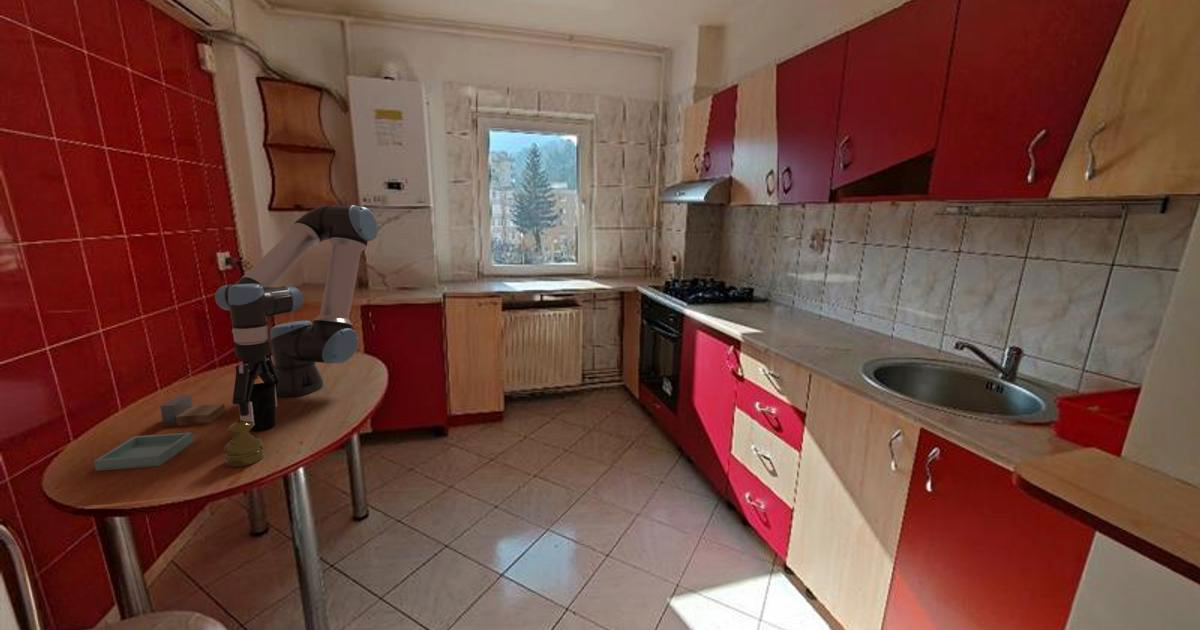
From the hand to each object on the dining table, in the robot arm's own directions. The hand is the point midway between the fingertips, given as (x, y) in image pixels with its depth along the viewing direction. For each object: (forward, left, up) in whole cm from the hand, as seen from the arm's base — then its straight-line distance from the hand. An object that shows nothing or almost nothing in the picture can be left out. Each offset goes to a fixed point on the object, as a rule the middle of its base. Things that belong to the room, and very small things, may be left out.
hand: (260, 415), depth 129 cm
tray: (+20, +12, -4) cm, 23 cm away
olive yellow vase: (-4, +19, -4) cm, 19 cm away
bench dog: (+25, -10, -4) cm, 28 cm away
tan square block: (+20, -10, -4) cm, 23 cm away
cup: (0, 0, -4) cm, 4 cm away
